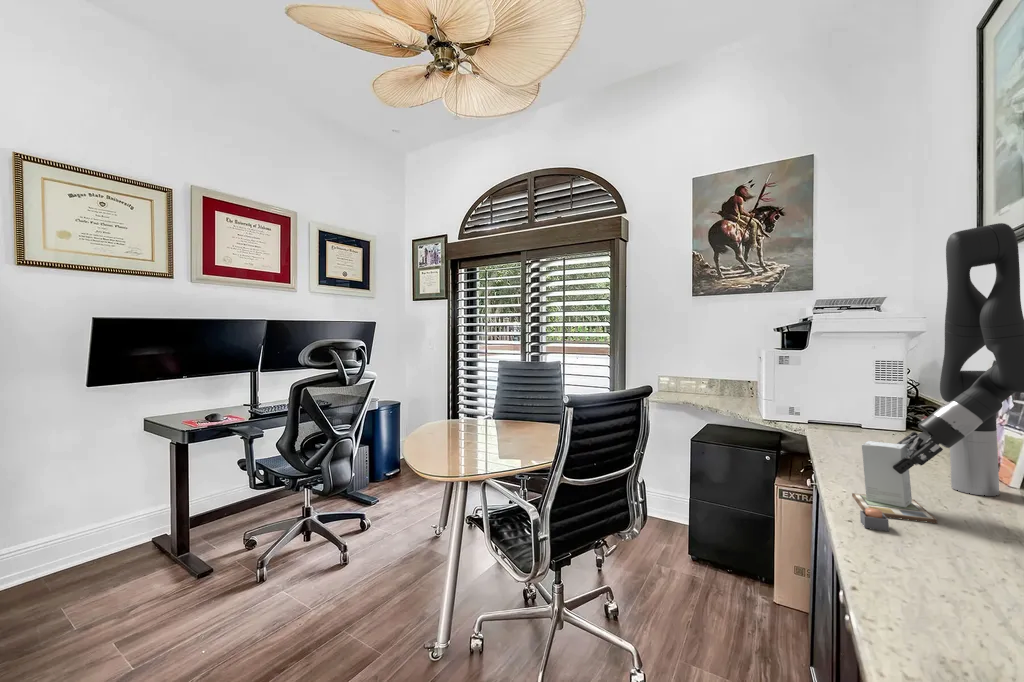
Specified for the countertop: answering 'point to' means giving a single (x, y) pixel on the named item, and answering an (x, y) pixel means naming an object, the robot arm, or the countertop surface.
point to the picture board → (896, 509)
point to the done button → (873, 513)
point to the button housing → (874, 522)
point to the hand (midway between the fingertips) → (891, 466)
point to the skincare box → (886, 474)
